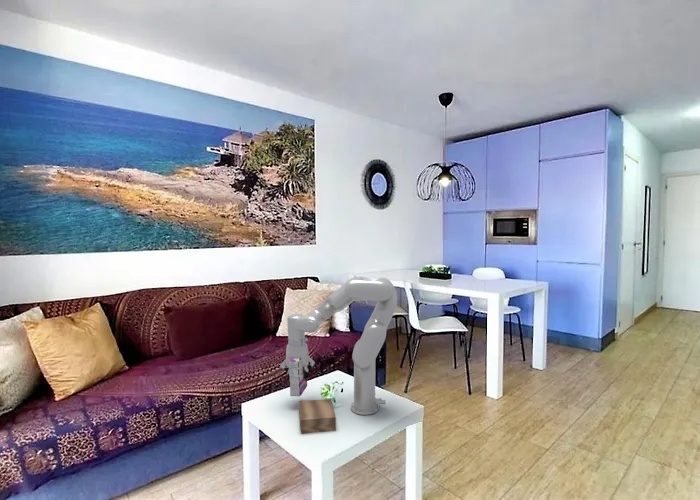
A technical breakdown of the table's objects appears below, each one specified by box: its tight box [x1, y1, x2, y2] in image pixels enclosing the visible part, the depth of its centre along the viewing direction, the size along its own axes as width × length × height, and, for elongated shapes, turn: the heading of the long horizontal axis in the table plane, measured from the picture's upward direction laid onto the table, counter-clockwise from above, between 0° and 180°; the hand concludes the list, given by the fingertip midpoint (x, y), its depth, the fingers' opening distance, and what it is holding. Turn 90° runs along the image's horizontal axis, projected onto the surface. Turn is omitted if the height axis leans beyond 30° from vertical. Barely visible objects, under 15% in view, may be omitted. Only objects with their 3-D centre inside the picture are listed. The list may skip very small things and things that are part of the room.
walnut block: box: [298, 398, 337, 435], centre depth 156 cm, size 14×16×6 cm
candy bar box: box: [289, 358, 308, 397], centre depth 170 cm, size 11×5×16 cm, turn 170°
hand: (298, 380), depth 170 cm, fingers closed on candy bar box, 6 cm apart
